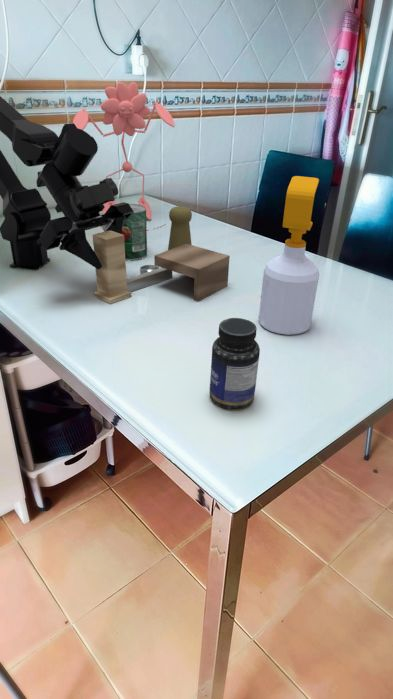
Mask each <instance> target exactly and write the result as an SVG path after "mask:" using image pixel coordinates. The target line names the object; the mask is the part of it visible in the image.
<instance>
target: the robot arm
mask: <svg viewBox="0 0 393 699" xmlns="http://www.w3.org/2000/svg"><path fill="white" fill-rule="evenodd" d="M0 133H2V134H3V135H4V136H6V137H7V138H8V140H9V141H10V142H11V145H12V146H11V147H12V151H13V153H14V154H15V155H16V156H17V157H18V159H19V160H20V161H21V162H22V163H23V165H25V166H27V167H37V166H43V165H44V166H43V168H42V169H41V171H37V178H36V187H37V188H42V187H46V189H47V191H48V192H49V193H50V195H51V197H52V199H53V200H54V202H55V203H56V205H55V207H54V210H55V211H56V213H57V214H58V213H62V214H63V216H61V217H58V218H53V219H51V218H52V217H51V216H52V215H51V212H50V210H49V208H48V207H47V206H48V203H47V202H46V201H45V200H44V199H43V197H42V195H41V194H40V191H39V190H38V189H37V188H29V189H28V188H26V187H25V186H24V185H23V183H22V181H21V180H20V179H19V177H18V175H17V174H16V173H15V171H14V169H13V167H12V166H11V164H10V163H9V161H8V160H7V158H6V156H5V155H4V153H3V152H2V150H1V149H0V198H1V199H2V215H3V217H4V220H3V221H2V223H1V225H0V236H1V238H2V239H3V240H5V241H8V242H9V244H10V250H11V257H12V261H13V262H11V263H10V264H9V267H10V268H12V269H23V270H32V271H38V270H40V269H41V268H42V267H44V266H45V265H46V264H48V263H49V262H51V258H49V256H48V251H49V250H52V249H53V250H54V249H56V248H58V249H59V250H60V251H65V252H68V253H70V254H72V255H73V256H76V257H77V258H80V260H82V261H84V262H85V263H87V264H88V265H90V266H92V267H93V268H95V270H96V269H98V270H99V269H101V267H102V265H101V263H100V261H99V259H98V257H97V255H96V254H95V252H94V248H92V246H91V244H90V242H89V241H88V239H87V234H86V231H88V230H92V229H95V228H99V227H100V228H101V229H102V230H103V232H106V231H110V230H111V231H114V232H117V233H120V234H122V226H123V225H124V224H125V223H126V222H127V220H128V219H129V218H130V217H131V216H132V214H133V213H134V211H133V210H132V208H131V207H130V205H129V204H130V203H128V202H125V201H124V202H119V203H115V204H114V205H111V206H110V207H109V209H108V210H107V211H106V213H105V214H103V213H102V214H101V213H100V212H103V209H104V208H105V207H104V204H105V203H107V202H109V201H114V202H115V201H116V198H115V197H116V196H119V189H118V185H117V184H116V182H115V181H114V179H112V177H107V179H106V178H104V179H103V180H100V181H99V183H96V184H94V185H93V184H92V185H89V186H88V185H83V184H82V183H81V182H80V180H79V178H78V177H80V176H82V175H83V174H84V173H85V171H86V170H87V168H88V166H90V163H91V162H92V160H93V159H94V157H95V156H96V154H97V153H98V149H99V146H98V142H97V141H96V140H95V138H94V137H93V136H91V135H90V134H89V133H88V132H86V131H85V130H84V129H83V130H81V129H78V128H77V127H76V125H75V124H74V123H73V122H72V123H64V125H63V126H62V129H61V132H60V134H59V135H57V134H56V132H55V131H53V130H51V129H50V128H48V127H47V126H45V125H43V124H40V123H36V122H32V121H30V120H29V119H27V118H26V117H25V116H23V115H22V114H21V113H20V112H19V111H18V110H16V109H15V108H14V107H13V106H12V105H11V104H10V103H9V102H7V101H6V100H5V99H4V98H3V97H2V96H1V95H0ZM122 235H123V234H122ZM127 257H128V256H127V252H126V248H125V260H126V259H127Z"/></svg>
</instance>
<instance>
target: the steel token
mask: <svg viewBox="0 0 393 699" xmlns="http://www.w3.org/2000/svg"><path fill="white" fill-rule="evenodd" d="M159 268H160V267H158V266H155V264H154V265H153V264H146V265H142V266H140V268H139V275H140V274H143V273H146V272H150V271H153V270H156V269H159Z"/></svg>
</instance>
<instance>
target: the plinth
mask: <svg viewBox="0 0 393 699" xmlns="http://www.w3.org/2000/svg"><path fill="white" fill-rule="evenodd" d="M230 257H231V256H230V255H228V254H224V253H221V252H217V251H214V250H210V249H208V248H207V249H206V248H204V247H200V246H196V245H190V244H184V245H181V246H179V247H176V248H173V249H171V250H168V249H167V250H165V251H163V252H161V253H158V254H155V255H154V265H155V266H158V267H159V268H165V269H168V270H171V271H172V272H175V273H177V274H180V275H184V276H187V277H190V278H193V279H194V282H193V283H194V285H193V286H194V287H193V301H194V302H200V301H202V300H204V299H206V298H208V297H210V296H211V295H213V294H215V293H217V292H219V291H221V290H222V289H224V288H225V289H226V287H228V284H229V272H230V271H229V268H230Z"/></svg>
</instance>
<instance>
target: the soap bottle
mask: <svg viewBox="0 0 393 699" xmlns="http://www.w3.org/2000/svg"><path fill="white" fill-rule="evenodd" d="M319 182H320V179H319V178H318V177H310V176H303V175H302V176H301V175H294V176H292V177H291V180H290V182H289V185H288V187H287V190H286V195H285V201H284V202H285V204H284V209H283V210H284V211H283V217H282V218H283V219H282V220H283V221H282V228H287V229H288V232H289V233H291V235H290V238H287V239H286V240H285V244H284V249H283V250H284V251H283V253H282V254H280V255H277V256H275V257H273V258H271V259H270V260H268V261H267V263H266V265H265V267H264V269H263V276H262V286H261V296H260V301H259V302H260V303H259V312H258V322H259V324H260V326H261V327H262V328H264V329H266V330H268V331H270V332H272V333H276V334H278V335H287V336H290V335H299V334H303V333H306V332H307V331H308V330H309V329H310V328H311V324H312V318H313V314H314V313H313V312H314V308H315V307H314V306H315V302H316V296H317V290H318V284H319V280H320V271H319V268H318V267H317V265H316V264H315V263H314V261H312V260H311V259H310V258H308V257H307V256H306V255H305V253H306V246H307V242H306V241H305V240H304V239H302V237H303V235H304V234H307V231H309V232H310V231H311V229H312V226H313V221H312V214H313V207H314V201H315V197H316V196H315V195H316V192H317V188H318V186H319Z"/></svg>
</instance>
